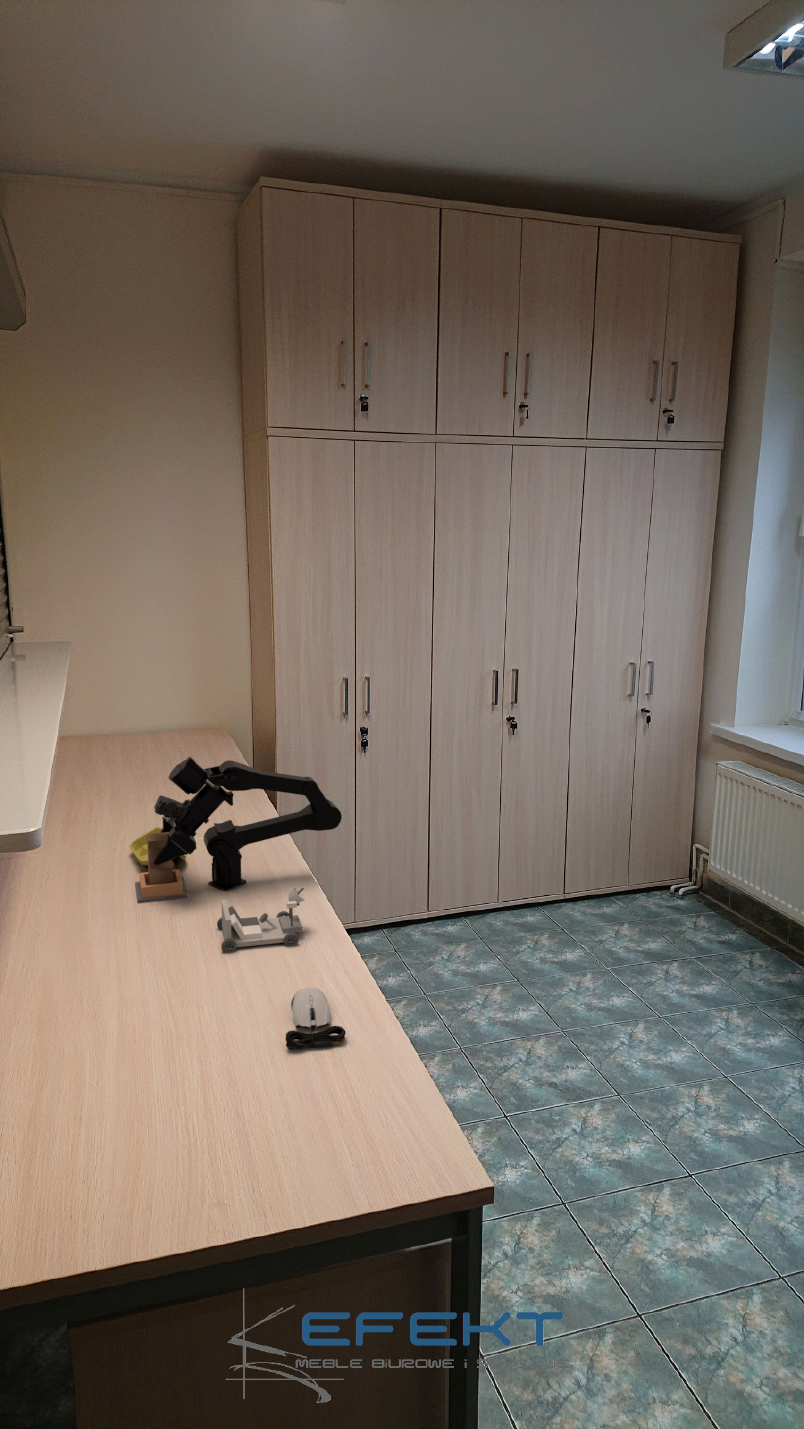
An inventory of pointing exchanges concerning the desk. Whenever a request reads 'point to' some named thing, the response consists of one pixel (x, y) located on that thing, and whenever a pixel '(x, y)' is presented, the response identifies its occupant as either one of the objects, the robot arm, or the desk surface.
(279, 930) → the toy car
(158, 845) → the walnut post
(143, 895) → the socket board
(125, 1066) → the desk surface
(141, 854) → the plastic component
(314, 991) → the computer mouse
